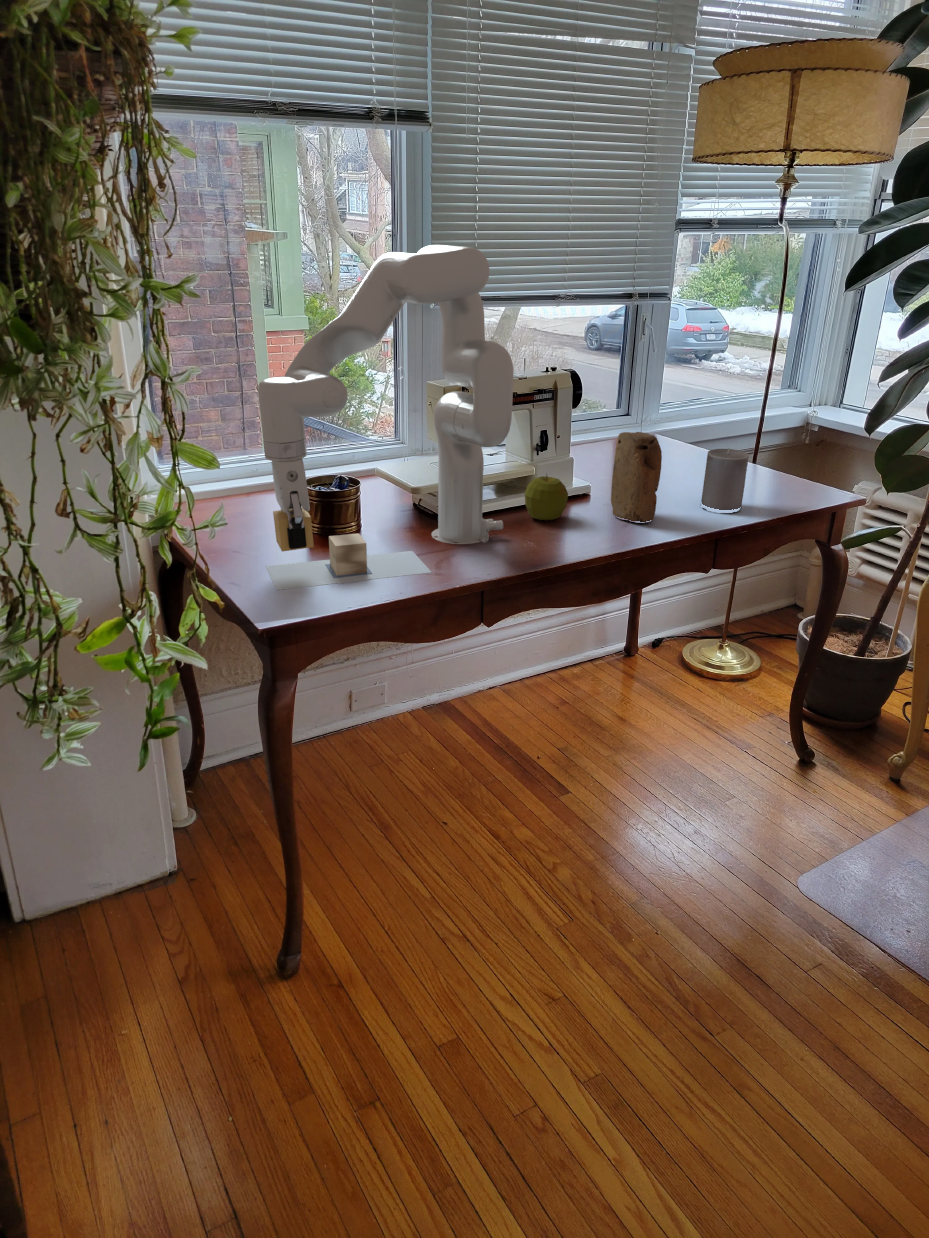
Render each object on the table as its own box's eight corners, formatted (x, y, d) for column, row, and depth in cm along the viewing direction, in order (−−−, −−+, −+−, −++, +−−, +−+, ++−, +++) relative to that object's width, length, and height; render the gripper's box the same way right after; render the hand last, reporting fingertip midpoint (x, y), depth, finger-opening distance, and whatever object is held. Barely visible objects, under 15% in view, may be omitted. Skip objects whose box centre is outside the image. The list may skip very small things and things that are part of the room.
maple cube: (359, 562, 184) (358, 533, 181) (367, 572, 179) (366, 543, 176) (330, 565, 182) (328, 536, 179) (336, 575, 177) (335, 546, 174)
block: (606, 514, 220) (613, 431, 212) (631, 510, 223) (639, 428, 215) (634, 527, 211) (642, 440, 203) (660, 523, 214) (669, 437, 206)
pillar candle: (699, 501, 231) (706, 442, 225) (739, 503, 230) (747, 444, 223) (702, 513, 222) (709, 452, 216) (743, 515, 221) (752, 454, 215)
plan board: (412, 556, 191) (412, 550, 191) (431, 578, 180) (431, 571, 179) (266, 571, 182) (265, 565, 181) (277, 596, 170) (276, 589, 170)
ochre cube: (307, 536, 178) (304, 507, 176) (313, 547, 173) (310, 516, 171) (276, 541, 176) (273, 511, 174) (281, 551, 171) (278, 521, 169)
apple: (529, 526, 211) (531, 479, 206) (519, 513, 219) (521, 468, 215) (571, 524, 212) (574, 478, 208) (559, 512, 221) (562, 467, 216)
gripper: (315, 457, 161) (323, 554, 168) (297, 435, 175) (305, 525, 183) (272, 462, 158) (282, 560, 166) (257, 439, 173) (267, 530, 181)
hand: (294, 540), depth 175 cm, fingers closed on ochre cube, 5 cm apart
